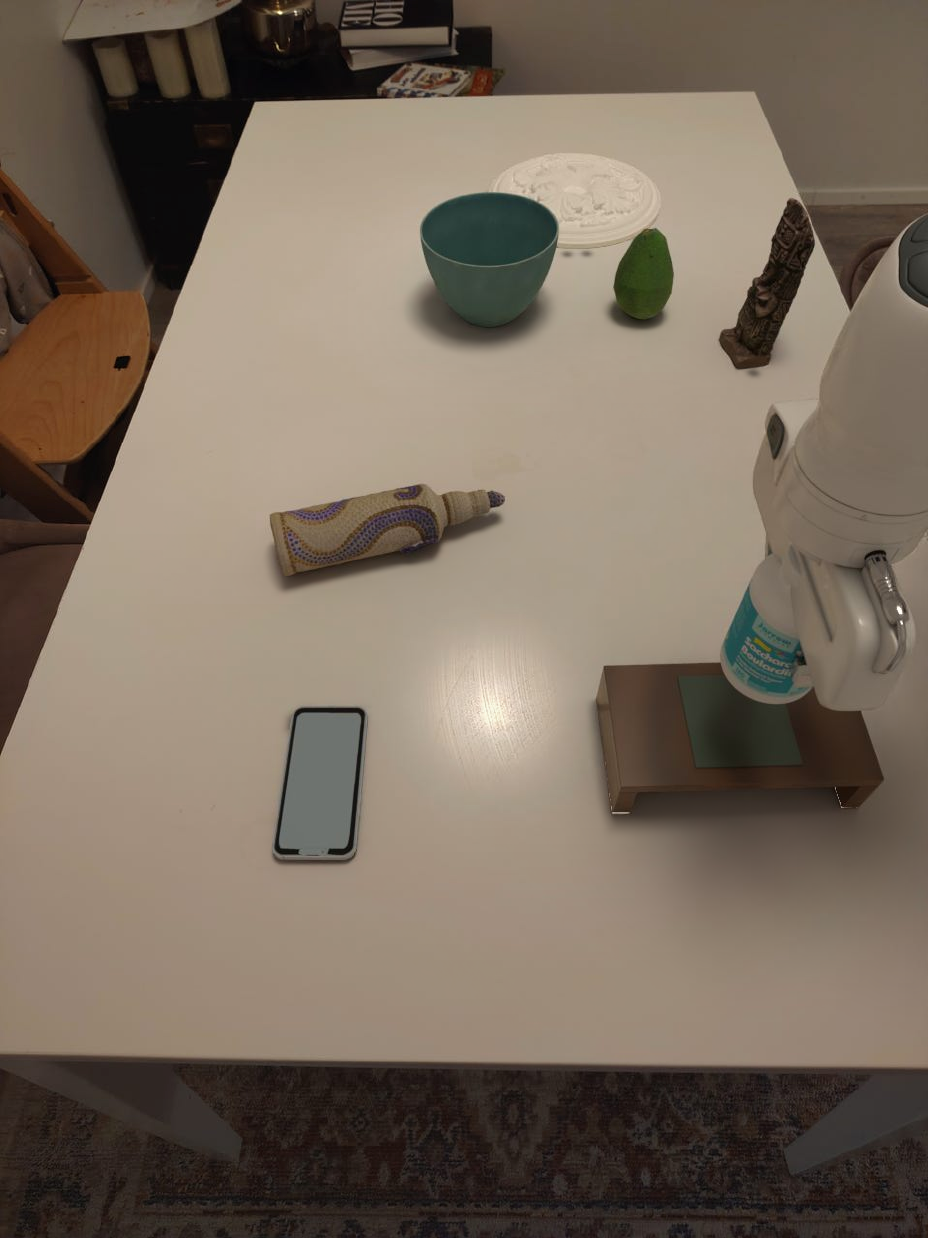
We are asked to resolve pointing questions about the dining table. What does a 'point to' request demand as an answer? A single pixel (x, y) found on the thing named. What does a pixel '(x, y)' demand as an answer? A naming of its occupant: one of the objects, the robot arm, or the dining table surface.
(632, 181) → the ceiling medallion
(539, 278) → the plant pot
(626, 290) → the avocado
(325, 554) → the decorative bottle
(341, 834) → the smartphone
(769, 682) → the pill bottle
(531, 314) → the dining table surface
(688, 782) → the shelf
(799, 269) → the statue
